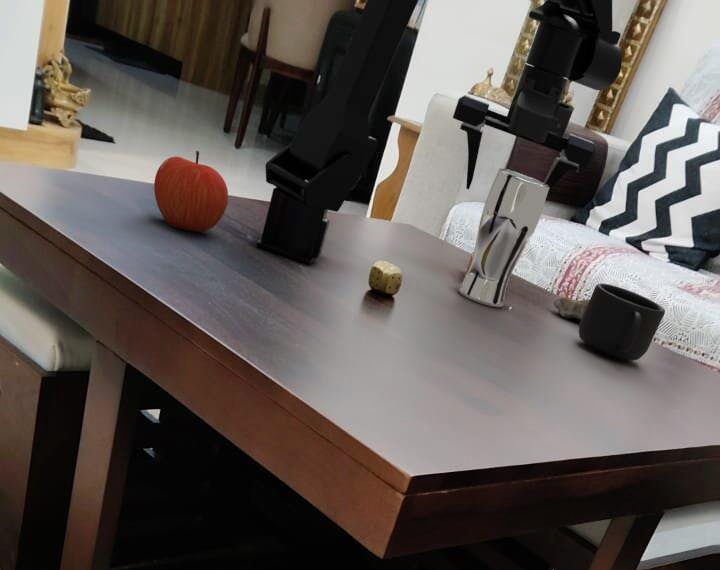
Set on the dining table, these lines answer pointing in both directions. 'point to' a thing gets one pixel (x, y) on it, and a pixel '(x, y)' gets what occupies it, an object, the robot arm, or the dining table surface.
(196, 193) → the apple
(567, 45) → the robot arm
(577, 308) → the rock
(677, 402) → the dining table surface
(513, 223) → the silver metal vase
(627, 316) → the mug
